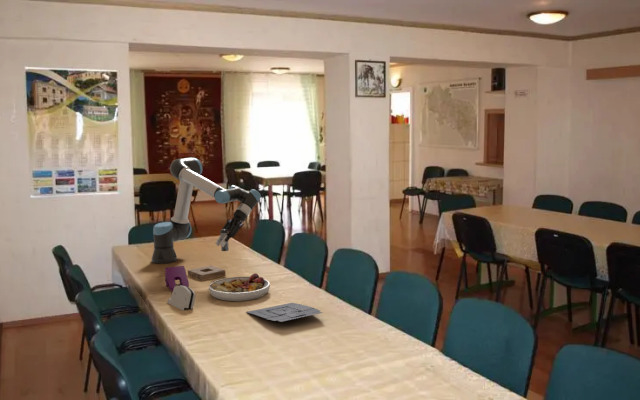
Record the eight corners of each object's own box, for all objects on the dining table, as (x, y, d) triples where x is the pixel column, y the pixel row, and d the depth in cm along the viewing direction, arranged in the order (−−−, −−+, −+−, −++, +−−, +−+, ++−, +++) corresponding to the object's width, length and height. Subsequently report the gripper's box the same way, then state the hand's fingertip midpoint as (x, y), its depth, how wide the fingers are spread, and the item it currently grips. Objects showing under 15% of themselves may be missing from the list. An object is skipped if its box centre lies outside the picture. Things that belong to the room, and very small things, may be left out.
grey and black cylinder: (220, 250, 332) (219, 229, 330) (226, 249, 335) (225, 228, 333) (224, 251, 329) (223, 230, 327) (229, 250, 332) (229, 229, 330)
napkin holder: (166, 302, 276) (172, 282, 277) (175, 303, 279) (181, 283, 280) (183, 310, 263) (189, 289, 264) (192, 312, 266) (198, 290, 267)
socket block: (188, 275, 325) (187, 270, 325) (211, 270, 335) (211, 265, 335) (201, 280, 314) (201, 275, 314) (225, 275, 324) (225, 270, 324)
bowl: (243, 307, 269) (243, 290, 268) (196, 297, 285) (195, 281, 284) (281, 290, 294) (281, 275, 293) (236, 282, 310) (235, 268, 309)
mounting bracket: (189, 301, 297) (183, 278, 312) (190, 288, 293) (184, 265, 307) (170, 304, 294) (164, 280, 308) (170, 290, 289) (165, 267, 303)
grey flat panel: (277, 329, 235) (276, 320, 235) (245, 317, 260) (245, 309, 260) (327, 318, 248) (326, 309, 248) (292, 308, 273) (292, 300, 273)
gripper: (254, 218, 333) (231, 251, 325) (237, 215, 346) (214, 246, 337) (247, 210, 329) (223, 243, 320) (229, 207, 342) (206, 239, 333)
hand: (219, 245), depth 329 cm, fingers closed on grey and black cylinder, 4 cm apart
